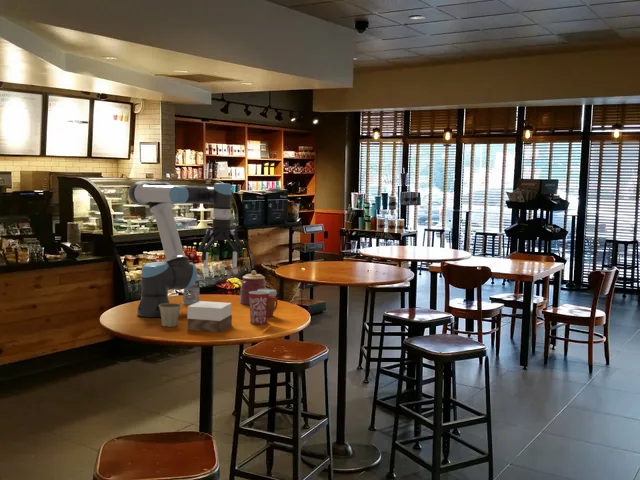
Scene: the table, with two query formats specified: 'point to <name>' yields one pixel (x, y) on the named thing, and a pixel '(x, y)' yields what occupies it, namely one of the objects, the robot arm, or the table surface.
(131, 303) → the table surface
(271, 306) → the disposable coffee cup
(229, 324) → the tower base
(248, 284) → the canister
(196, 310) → the tower top
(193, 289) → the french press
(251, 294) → the mug
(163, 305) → the flower pot
